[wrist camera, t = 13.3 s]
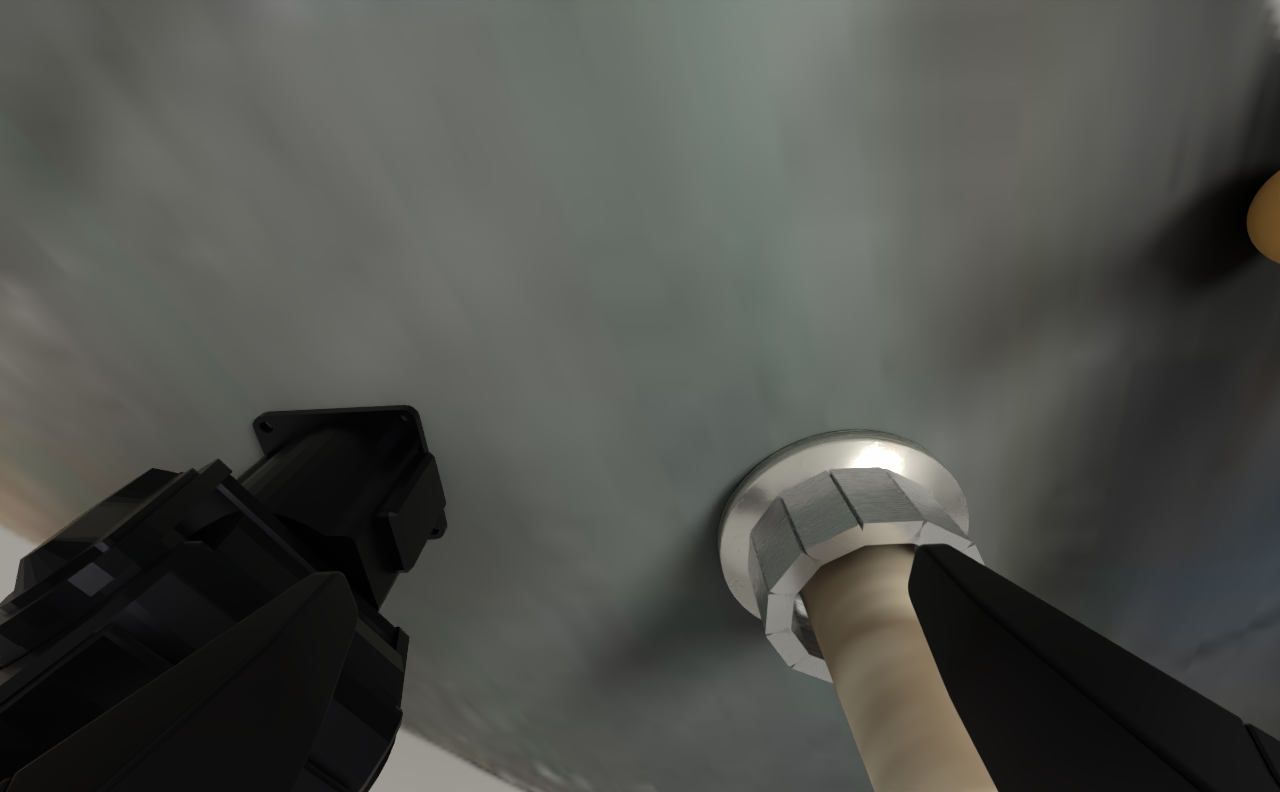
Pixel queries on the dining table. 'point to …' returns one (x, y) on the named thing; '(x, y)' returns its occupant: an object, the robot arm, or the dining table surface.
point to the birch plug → (889, 675)
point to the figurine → (1266, 219)
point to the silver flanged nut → (830, 523)
